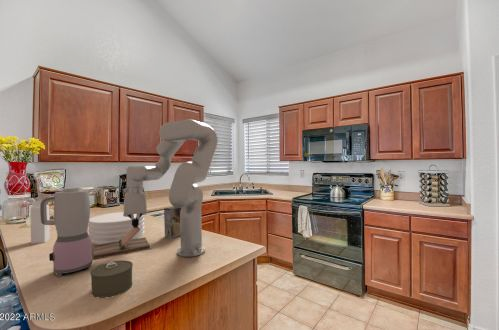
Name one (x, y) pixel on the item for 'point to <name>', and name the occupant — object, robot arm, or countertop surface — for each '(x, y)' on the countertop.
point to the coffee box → (172, 222)
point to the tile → (130, 235)
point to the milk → (38, 224)
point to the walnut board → (120, 248)
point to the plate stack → (112, 228)
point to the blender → (70, 230)
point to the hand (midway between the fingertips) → (135, 226)
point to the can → (111, 278)
